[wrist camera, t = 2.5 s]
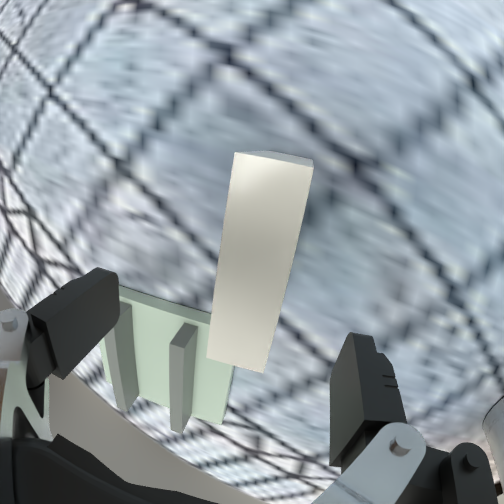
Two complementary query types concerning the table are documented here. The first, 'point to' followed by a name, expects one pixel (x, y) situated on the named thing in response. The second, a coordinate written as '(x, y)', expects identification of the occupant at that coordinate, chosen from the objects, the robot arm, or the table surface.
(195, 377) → the dish rack
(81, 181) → the table surface
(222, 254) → the cream rectangular prism
